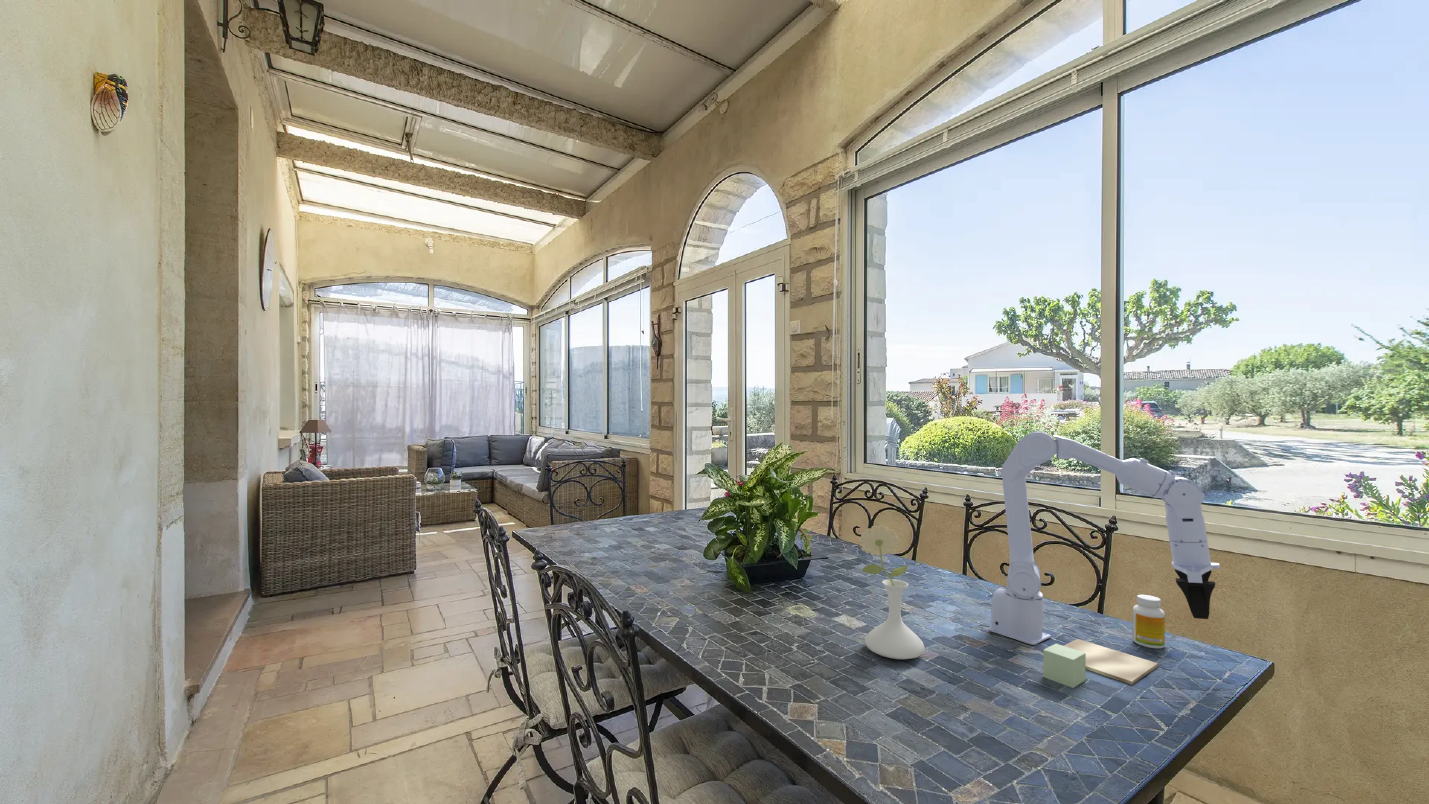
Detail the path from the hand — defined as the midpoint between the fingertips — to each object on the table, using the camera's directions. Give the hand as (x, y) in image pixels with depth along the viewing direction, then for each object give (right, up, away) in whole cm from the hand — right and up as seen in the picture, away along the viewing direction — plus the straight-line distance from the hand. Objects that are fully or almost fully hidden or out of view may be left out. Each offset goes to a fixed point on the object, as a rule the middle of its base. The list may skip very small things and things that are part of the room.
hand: (1199, 612), depth 109 cm
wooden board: (-17, -10, +2) cm, 20 cm away
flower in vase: (-57, -10, +5) cm, 59 cm away
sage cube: (-29, -10, -5) cm, 31 cm away
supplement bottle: (-1, -11, +11) cm, 16 cm away
